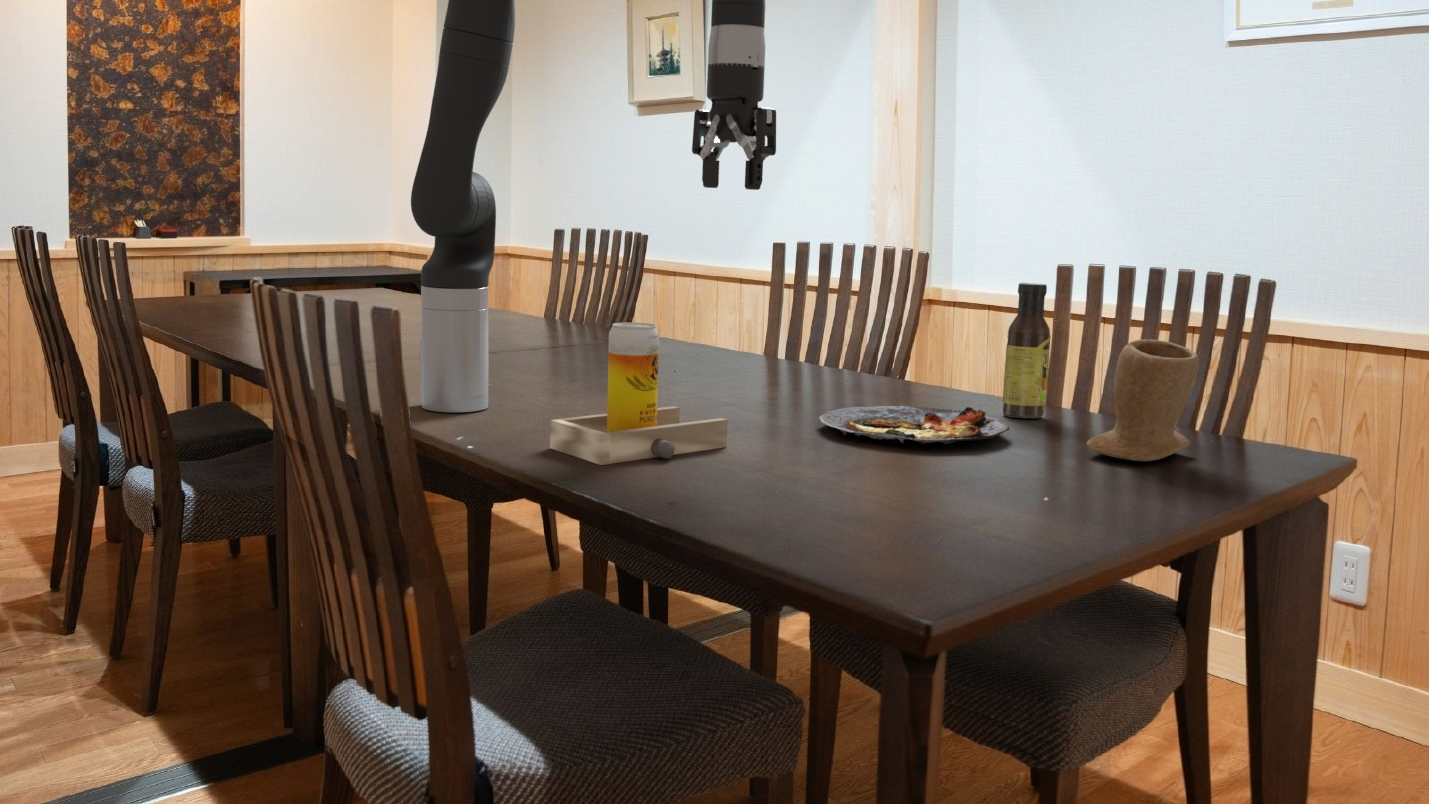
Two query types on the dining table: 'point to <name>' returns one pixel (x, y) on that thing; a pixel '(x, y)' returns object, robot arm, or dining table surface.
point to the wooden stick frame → (635, 437)
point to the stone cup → (1149, 401)
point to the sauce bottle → (1027, 356)
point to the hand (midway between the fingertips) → (731, 188)
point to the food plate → (915, 423)
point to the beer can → (632, 376)
